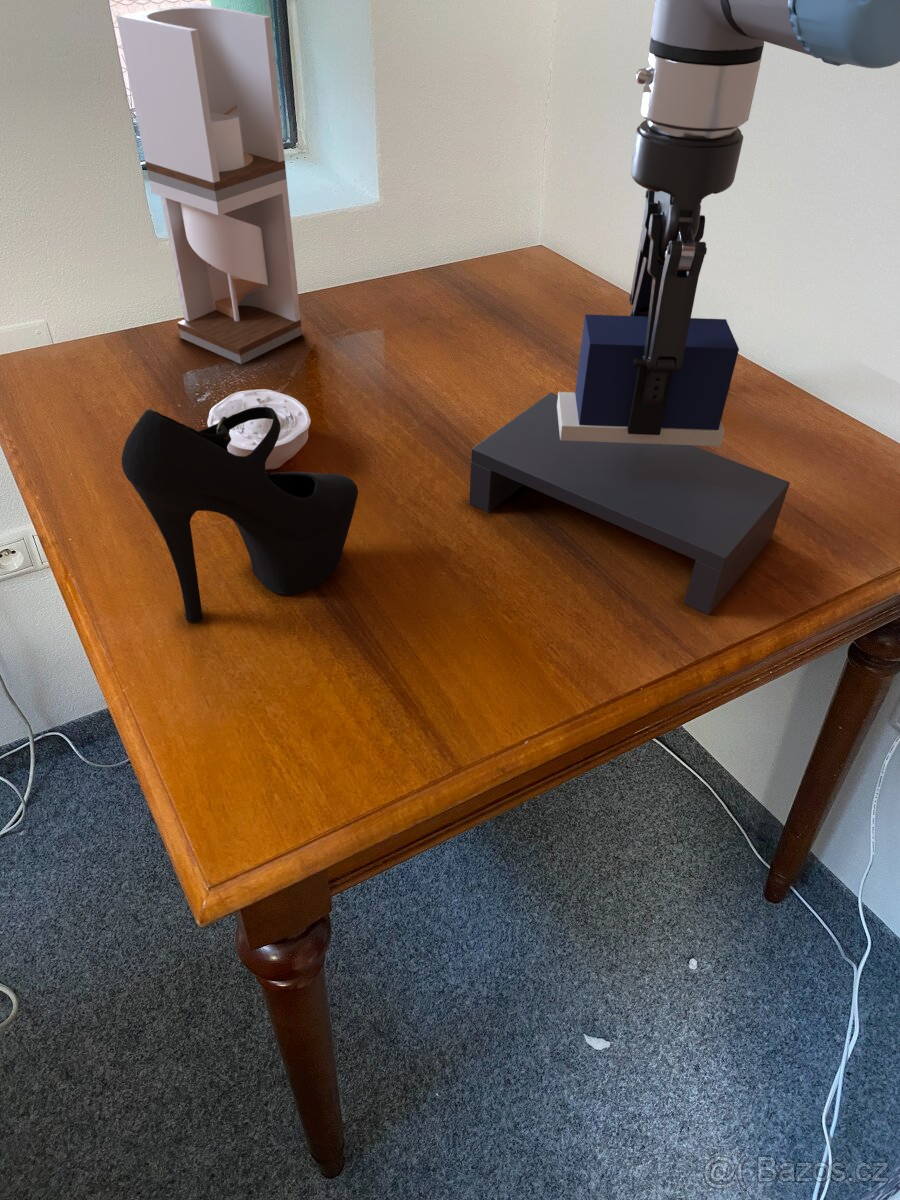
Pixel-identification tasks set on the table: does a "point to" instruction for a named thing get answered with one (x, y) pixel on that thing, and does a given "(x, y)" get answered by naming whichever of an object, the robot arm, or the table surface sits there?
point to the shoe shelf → (639, 493)
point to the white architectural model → (217, 171)
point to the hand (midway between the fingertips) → (638, 411)
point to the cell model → (264, 424)
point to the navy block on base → (612, 378)
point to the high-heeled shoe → (238, 501)
